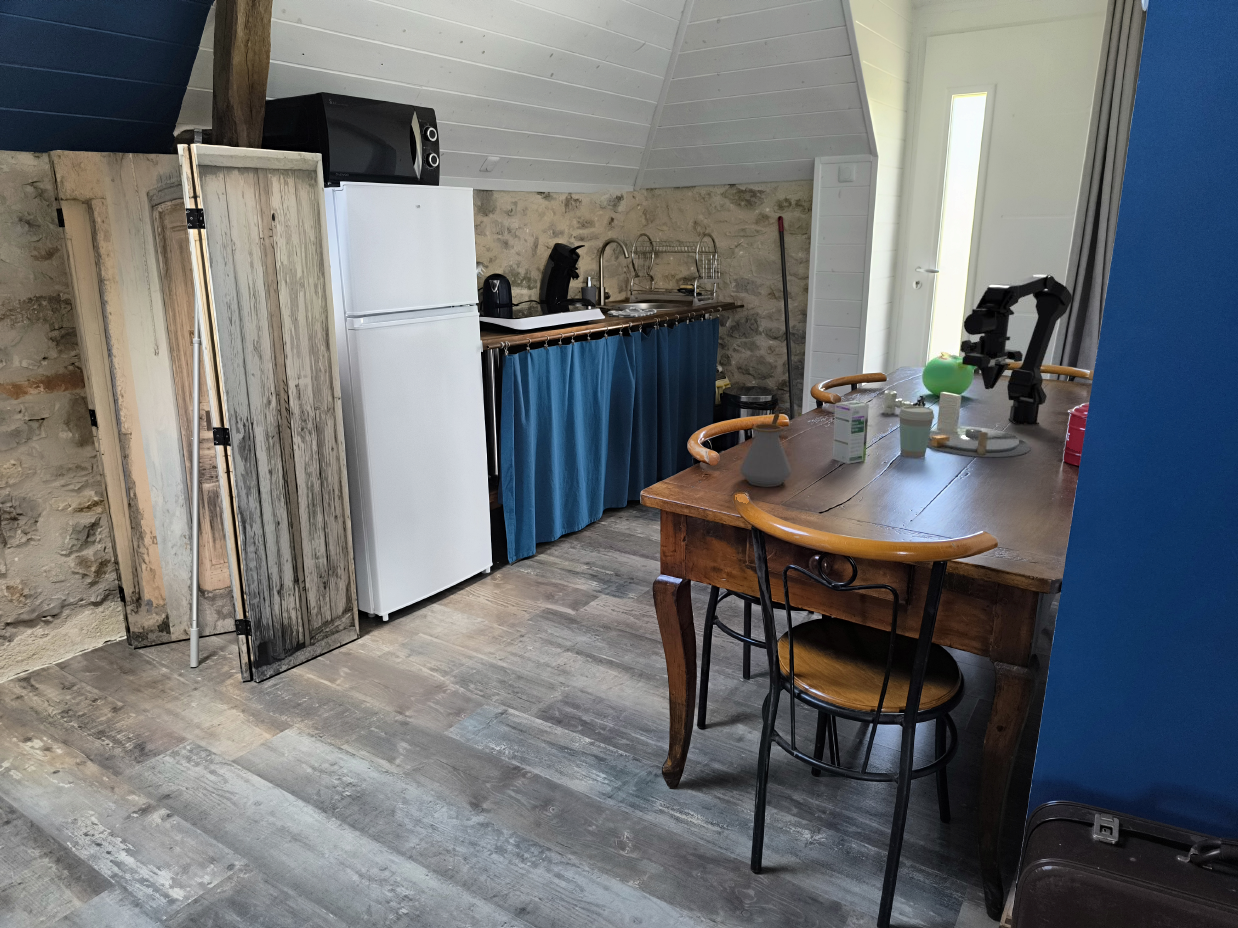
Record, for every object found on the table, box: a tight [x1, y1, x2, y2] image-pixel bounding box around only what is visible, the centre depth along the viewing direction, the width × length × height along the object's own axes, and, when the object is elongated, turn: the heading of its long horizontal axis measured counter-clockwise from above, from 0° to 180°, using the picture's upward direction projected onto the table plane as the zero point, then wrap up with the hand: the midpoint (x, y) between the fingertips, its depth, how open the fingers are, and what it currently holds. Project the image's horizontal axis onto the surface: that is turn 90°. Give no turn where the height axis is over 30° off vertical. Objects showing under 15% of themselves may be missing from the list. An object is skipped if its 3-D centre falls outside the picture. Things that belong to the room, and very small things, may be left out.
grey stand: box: [929, 392, 1020, 452], centre depth 217 cm, size 22×24×11 cm
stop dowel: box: [977, 432, 988, 456], centre depth 207 cm, size 2×2×6 cm
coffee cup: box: [897, 406, 935, 459], centre depth 207 cm, size 8×8×12 cm
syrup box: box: [832, 400, 870, 465], centre depth 203 cm, size 6×6×14 cm
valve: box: [882, 390, 926, 415], centre depth 253 cm, size 7×7×12 cm
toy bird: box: [921, 351, 978, 397], centre depth 277 cm, size 18×17×15 cm
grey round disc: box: [927, 438, 1031, 459], centre depth 219 cm, size 28×28×1 cm
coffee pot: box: [739, 404, 792, 488], centre depth 191 cm, size 21×12×15 cm, turn 158°
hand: (989, 388), depth 229 cm, fingers closed
